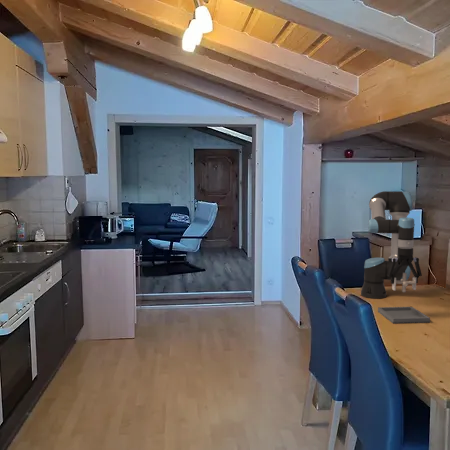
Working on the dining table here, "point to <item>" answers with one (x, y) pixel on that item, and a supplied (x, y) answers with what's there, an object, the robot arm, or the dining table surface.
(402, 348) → the dining table surface
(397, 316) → the tray
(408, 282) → the pipe connector
